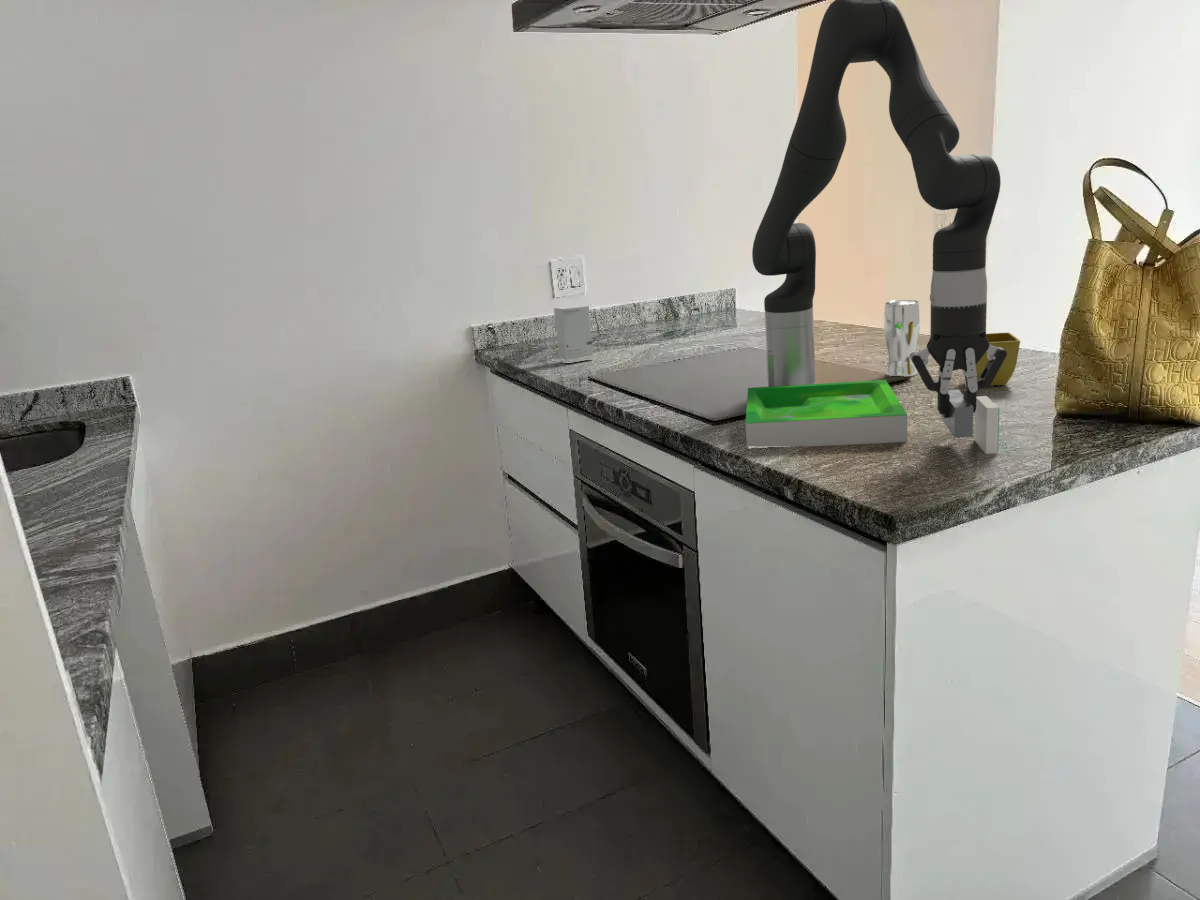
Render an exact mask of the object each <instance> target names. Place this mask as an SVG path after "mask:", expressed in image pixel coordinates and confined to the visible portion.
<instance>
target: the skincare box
mask: <svg viewBox="0 0 1200 900" xmlns="http://www.w3.org/2000/svg"><path fill="white" fill-rule="evenodd" d="M553 313H554V323H555V331H556V342H557V352H558V359H559V358H562V359H565V360H568V359H574V358H579V357H584V356H591V355H593V356H594V353H593V340H592V329H591V316H590V307H589V305H585V304H578V305H577V304H576V305H567V306H560V307H554V308H553Z"/></svg>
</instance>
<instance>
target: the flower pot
mask: <svg viewBox="0 0 1200 900" xmlns="http://www.w3.org/2000/svg"><path fill="white" fill-rule="evenodd" d="M986 337H987V339H988V340H989V343H990V345H993V346H995V347H1001V348H1003V349H1004V350H1005V351H1006V352H1007V356H1006V358H1005V359H1004V361H1003V363H1002V365H1001V367H1000V369H999V370H998V372H997V374H996V376H995V378H994V380H993V381H992V383H991V385H990V386H989V387H993V386H994V385H997V386H1000V385H1002V386H1006V385H1007V383H1008V382H1009V381H1010V380H1011V378H1012V376H1013V374H1014V372H1015V370H1016V366H1017V362H1018V358H1019V351H1020V344H1021V340H1020V339H1019V338H1017V337H1016V336H1015V335H1013V334H1012V333H1011V332H993V333H991V332H990V333H986ZM987 354H988V352H987V351H986V352H985V354H984V355H983V356H982V358H981V359H980V360H979V361H978V363H977V364H976V372H977V379H978V378H979V377H980V375H981V374H982V372H983V370H984V368H985V366H986V364H987V362H988V361H989V359H988V358H987Z"/></svg>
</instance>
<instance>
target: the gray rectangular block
mask: <svg viewBox="0 0 1200 900" xmlns="http://www.w3.org/2000/svg"><path fill="white" fill-rule="evenodd" d="M948 393H949V394H950V401H949V418H944V417H943V416H942V414H940V419H941V420H942V422H943V423H944V425H945V426H946V428H947V429H948V430H949V432H950V433H951V435H952V437H953V438H973V437H974V435H973V433H974V413H973V406H972V405H971V404H970V402H969V401H968V400H967V399H966V398H965V397H964V393H962V392H961V390H960V389H949V391H948Z"/></svg>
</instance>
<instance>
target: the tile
mask: <svg viewBox="0 0 1200 900" xmlns="http://www.w3.org/2000/svg"><path fill="white" fill-rule="evenodd" d="M999 429H1000V407H999V406H998V405H997V404H996V403H995V402H994V401H993V400H992V399H990V398H989V397H988V396H987V395H983V396H976V411H975V413H974V441H975V443H976V444H977V445H978V447H979V448H980V449H981V450H982V451H983V452H984V454H985V455H991V454H994V455H995V454H998V452H999V435H1000V434H999V433H1000V432H999Z"/></svg>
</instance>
